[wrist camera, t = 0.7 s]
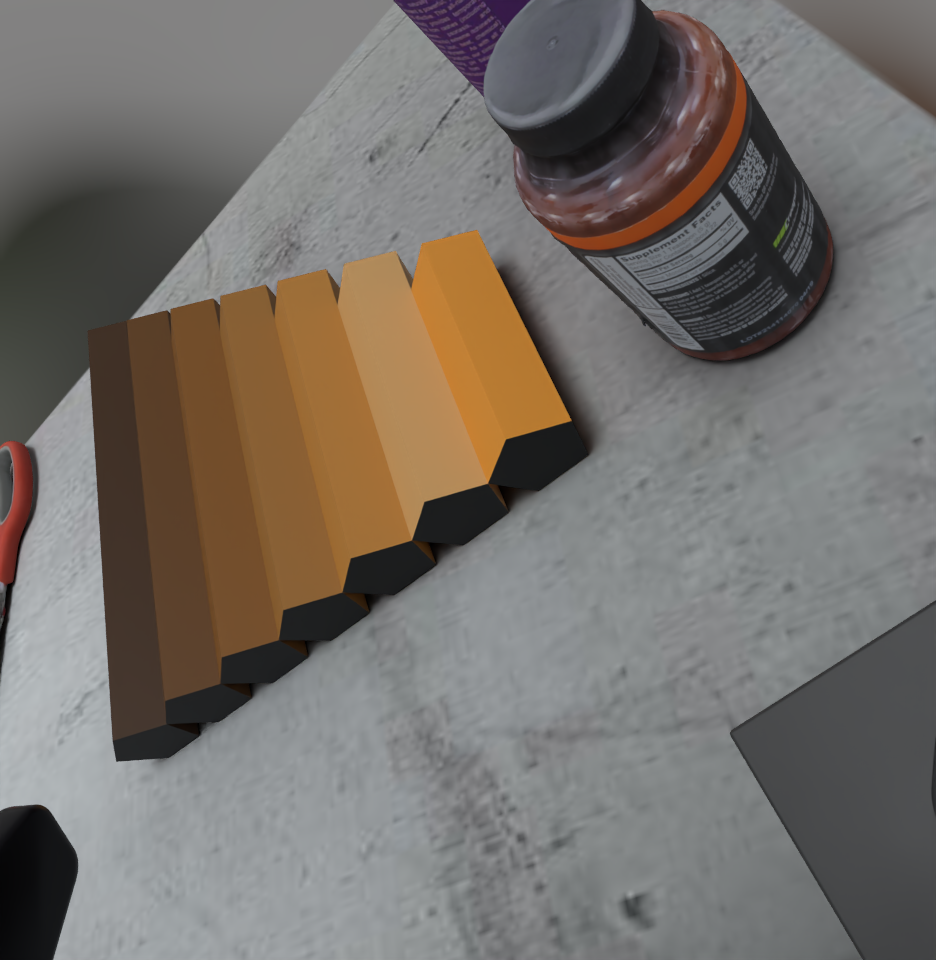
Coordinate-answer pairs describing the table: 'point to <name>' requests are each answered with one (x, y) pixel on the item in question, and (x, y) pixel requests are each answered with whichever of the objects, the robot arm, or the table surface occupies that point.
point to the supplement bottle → (659, 171)
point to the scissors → (12, 509)
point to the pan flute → (299, 468)
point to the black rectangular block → (862, 786)
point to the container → (464, 29)
